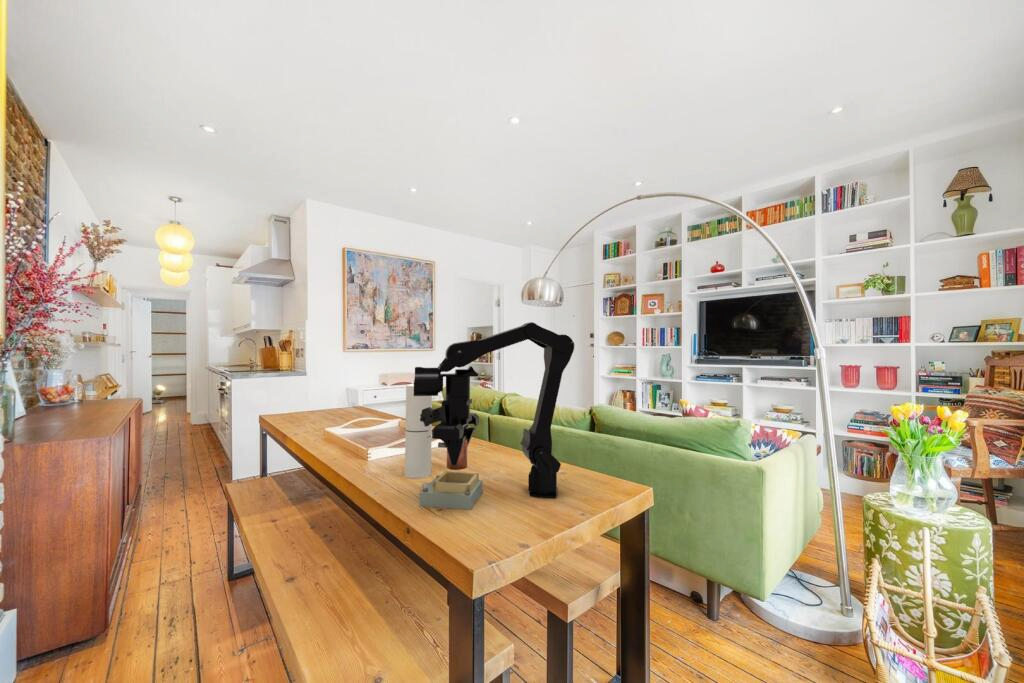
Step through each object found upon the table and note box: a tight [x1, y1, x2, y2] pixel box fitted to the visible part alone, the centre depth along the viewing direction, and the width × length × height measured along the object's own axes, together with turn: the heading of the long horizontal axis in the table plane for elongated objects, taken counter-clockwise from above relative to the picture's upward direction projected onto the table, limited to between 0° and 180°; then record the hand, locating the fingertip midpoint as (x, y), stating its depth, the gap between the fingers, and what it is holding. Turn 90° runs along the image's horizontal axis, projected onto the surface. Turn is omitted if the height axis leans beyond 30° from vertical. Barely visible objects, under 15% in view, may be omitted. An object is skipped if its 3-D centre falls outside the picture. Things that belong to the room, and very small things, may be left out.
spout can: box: [437, 438, 468, 471], centre depth 97 cm, size 7×5×7 cm
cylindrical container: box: [404, 383, 433, 479], centre depth 115 cm, size 7×7×25 cm
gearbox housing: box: [418, 470, 483, 511], centre depth 97 cm, size 14×11×5 cm
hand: (457, 461), depth 97 cm, fingers closed on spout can, 5 cm apart
